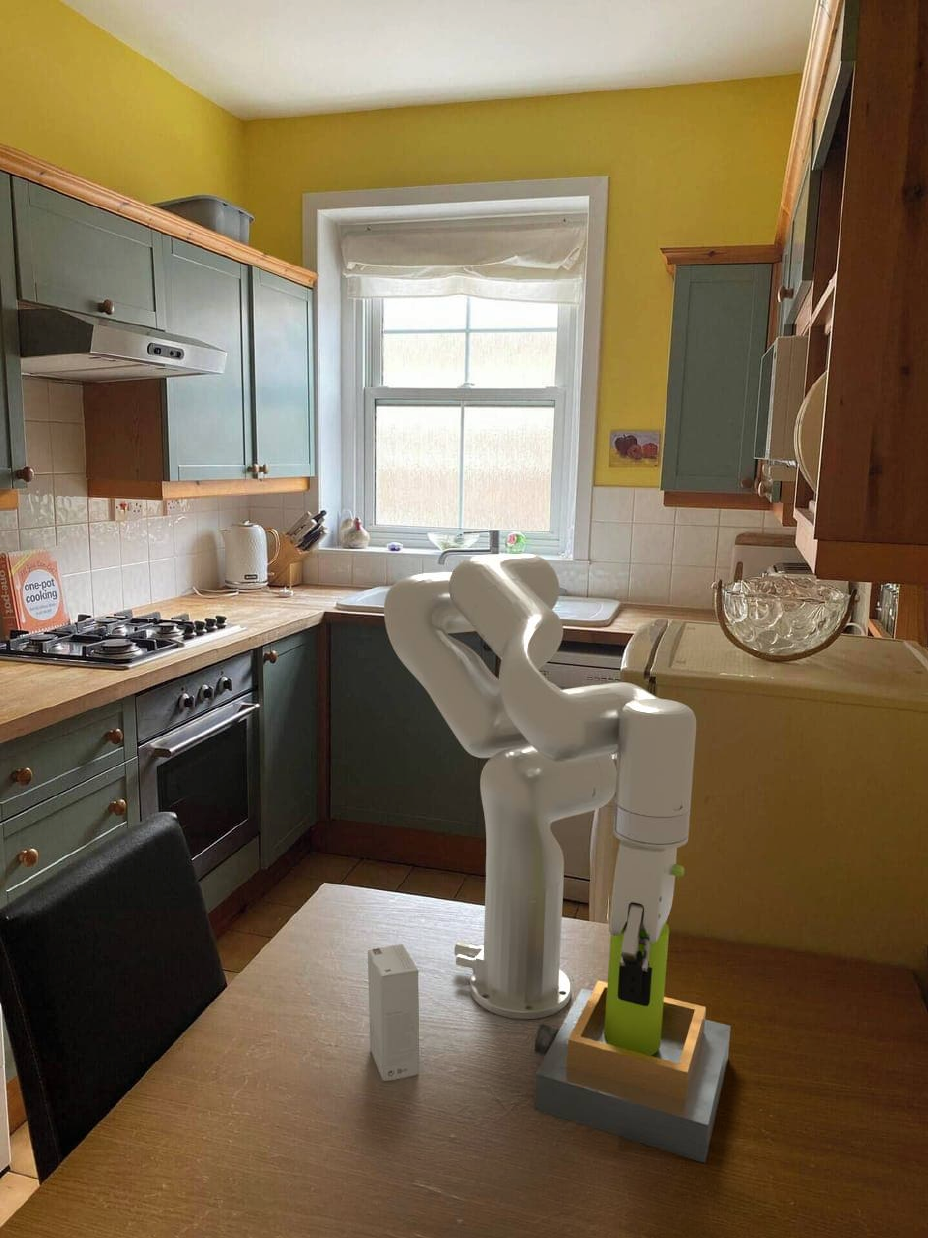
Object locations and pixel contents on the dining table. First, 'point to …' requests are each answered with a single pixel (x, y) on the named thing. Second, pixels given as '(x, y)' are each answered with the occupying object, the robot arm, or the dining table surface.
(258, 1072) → the dining table surface
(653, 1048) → the green pump bottle
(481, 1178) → the dining table surface
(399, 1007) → the skincare box
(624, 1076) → the bottle holder tray
